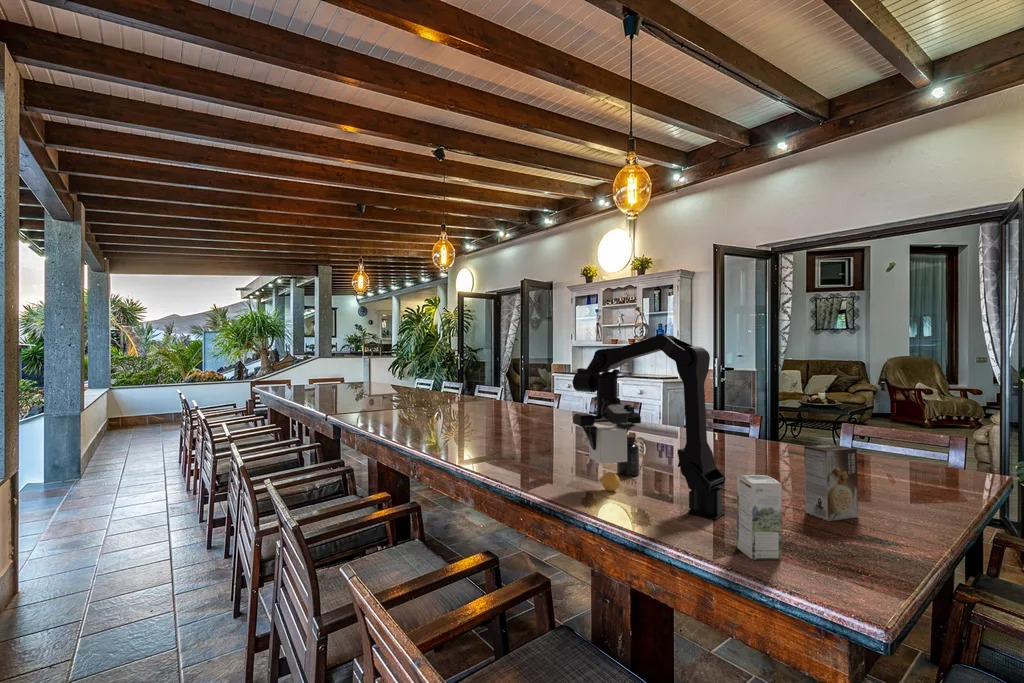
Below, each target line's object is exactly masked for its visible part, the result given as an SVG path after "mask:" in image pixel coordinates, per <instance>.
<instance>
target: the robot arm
mask: <svg viewBox="0 0 1024 683" xmlns="http://www.w3.org/2000/svg"><path fill="white" fill-rule="evenodd" d="M658 352H663V353H664V354H665V355H666V356H667V357H668V358H669V359H671V360H673V361H674V362H675V365H676V370H677V373H678V375H679V378H680V379H681V381H682V384H683V396H684V397H683V399H684V400H683V401H684V418H685V419H684V420H685V422H684V423H685V441H686V442H685V445H684V447H683V448H681V449H677V456H678V465H677V467H678V468H680V473H681V475H682V476H684V478H685V482H686V484H687V487H688V489H689V491H688V508H689V510H688V511H687V513H688V514H691V515H693V516H698V517H702V518H706V519H711V520H717V519H718V518H719V517H721V516H723V515H724V514H725V513H726V511H725V510H723V488H722V487H724V485H725V482H726V479H727V478H726V477H725V475H724V474H723V473H722V472H721V471H720V470H719V468H718V467H717V466H716V461H715V457H714V453H713V451H712V449H711V447H710V444H709V443H708V434H707V432H708V431H707V417H706V412H707V411H706V394H705V393H706V392H705V381H706V380H707V376H708V374H709V370H710V369H709V368H710V361H711V357H710V353H709V351H707V349H705V348H704V347H702V346H694V345H693V344H691V343H689V342H686V341H684V340H681V339H679V338H678V337H675V335H672V334H671V333H664V332H663V333H658V334H656V335H654V336H651V337H647V338H645V339H641V340H639V341H637V342H633V343H630V344H627V345H623V346H621V347H610V348H602V349H601V348H599V349H596V350H595V352H594V355H593V357H592V359H591V361H590V363H589V364H588V366H587V367H586V368H577V369H576V373H575V374H574V376H573V379H572V387H573V390H575V391H576V392H583V393H596V396H594V401H596V410H594V415H593V414H591V413H587V412H581V413H580V412H579V413H574V415H573V417H572V424H574V425H576V426H579V427H581V428H582V429H583V431H584V433H585V435H586V436H587V439H588V443H589V442H590V444H591V447H592V449H593V450H596V434H595V432H596V429H597V427H598V426H597V425H596V426H595V423H608V422H610V423H612V424H615V426H616V427H620V428H623V429H627V433H628V432H629V431H630V430H631V429H632V428H633V427H635V426H636V424H642V417H641V415H640V414H641V413H639V412H635V406H634V405H633V404H631V403H630V404H625V405H622V403H621V398H620V397H618V379H623V378H625V375H624V373H623V372H621V371H620V369H619V368H620V367H622V366H623V365H625V364H626V363H628V362H629V361H630V360H634V359H637V358H641V357H644V356H648V355H651V354H654V353H658ZM611 370H612V371H611Z"/></svg>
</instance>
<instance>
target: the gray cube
mask: <svg viewBox="0 0 1024 683" xmlns="http://www.w3.org/2000/svg"><path fill="white" fill-rule="evenodd" d="M596 427H597V429H596V432H595V434H596V450H593V449H592V447H591V444H590V442H589V441H588V448H589V449H588V453H589V454H588V455H589V456H588V457H589V459H591V460H593V461H596V462H598V463H600V464H611V463H612V464H614V463H616V464H617V462H627V435H628V432H627V429H623V428H620V427H616V425H601V426H596Z"/></svg>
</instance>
